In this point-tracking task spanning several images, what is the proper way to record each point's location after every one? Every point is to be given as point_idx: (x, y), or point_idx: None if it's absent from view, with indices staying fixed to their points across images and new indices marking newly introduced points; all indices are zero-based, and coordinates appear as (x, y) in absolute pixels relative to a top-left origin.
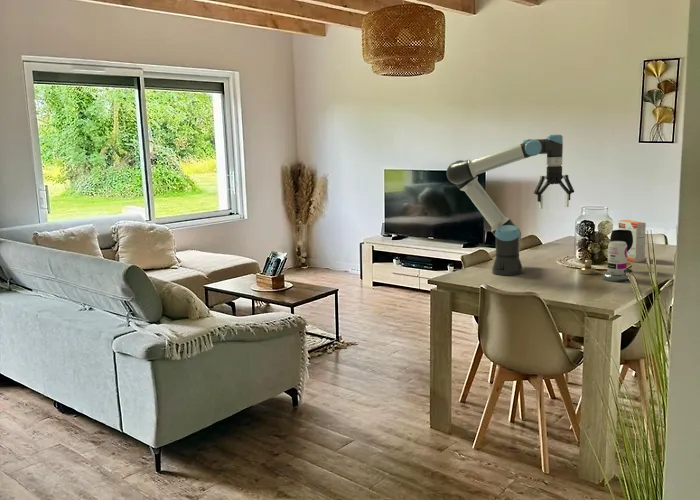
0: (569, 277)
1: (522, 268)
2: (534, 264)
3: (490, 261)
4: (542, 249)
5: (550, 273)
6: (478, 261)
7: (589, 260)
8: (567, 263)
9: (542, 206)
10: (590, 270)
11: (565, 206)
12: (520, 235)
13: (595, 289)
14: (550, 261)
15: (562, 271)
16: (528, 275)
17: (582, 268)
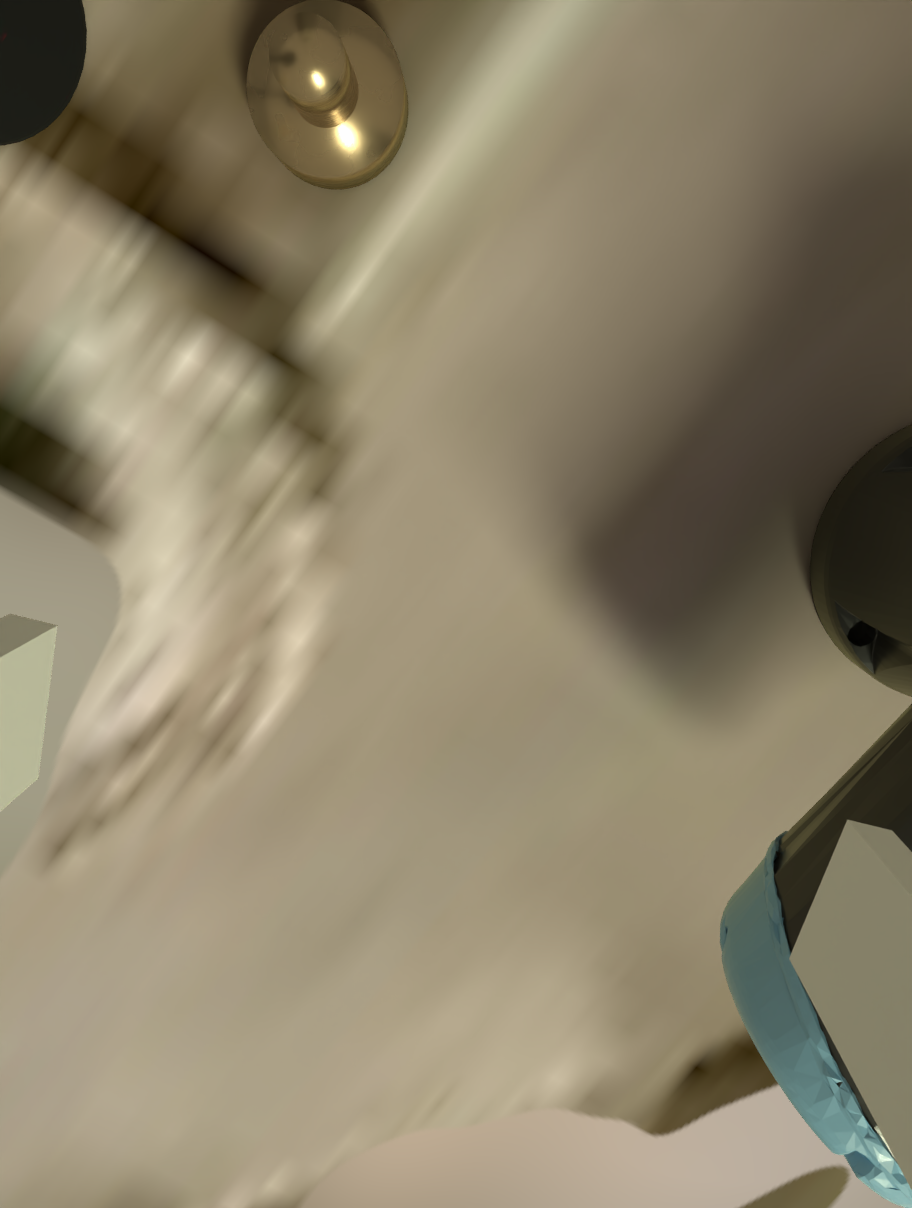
0: (618, 34)
1: (883, 463)
2: (518, 719)
3: None
4: (83, 1171)
5: (651, 305)
6: None
7: (302, 35)
8: (234, 601)
9: (879, 851)
10: (351, 10)
11: (37, 740)
12: (809, 865)
13: None
14: (316, 751)
15: (496, 321)
16: (884, 341)
17: (385, 111)
